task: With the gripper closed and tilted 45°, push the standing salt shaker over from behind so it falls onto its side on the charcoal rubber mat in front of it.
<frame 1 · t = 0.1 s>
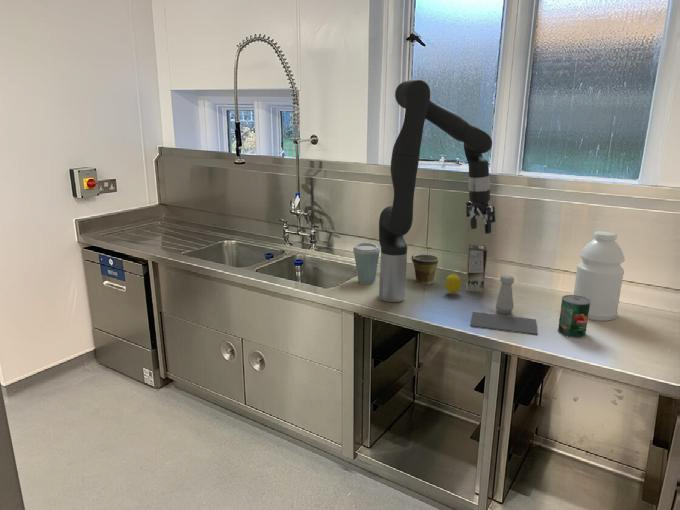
hand: (480, 230, 195), 22 cm above the worktop, tool pointing down, fingers open, 8 cm apart
canned tomato: (571, 333, 161), on the worktop
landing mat: (503, 323, 167), on the worktop
ceramic cup: (421, 281, 208), on the worktop
disposable coffee cup: (365, 282, 206), on the worktop
salt shaker: (503, 313, 176), on the worktop
lemon: (452, 294, 194), on the worktop
bottle: (593, 314, 176), on the worktop
coffee box: (474, 288, 201), on the worktop
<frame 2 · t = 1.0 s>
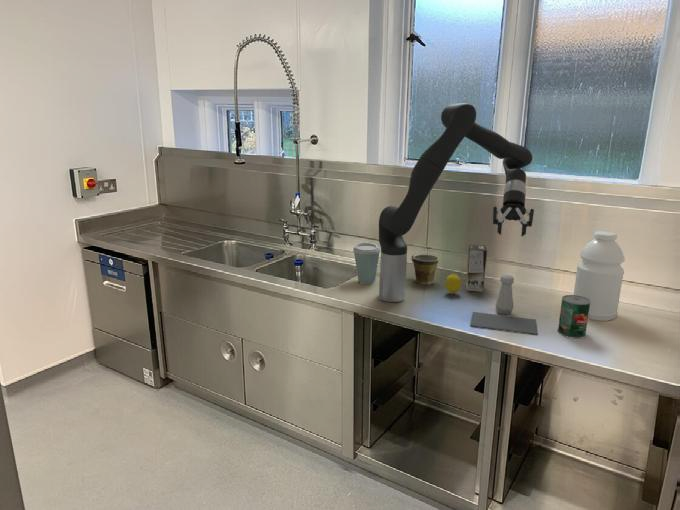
hand: (511, 234, 180), 25 cm above the worktop, tool tilted 45°, fingers open, 7 cm apart
nothing on the worktop moved.
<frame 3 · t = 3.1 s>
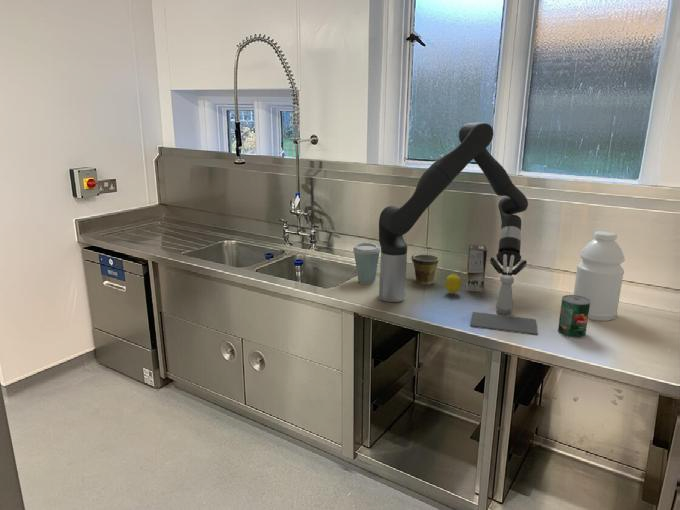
hand: (506, 283, 181), 8 cm above the worktop, tool tilted 45°, fingers closed
nothing on the worktop moved.
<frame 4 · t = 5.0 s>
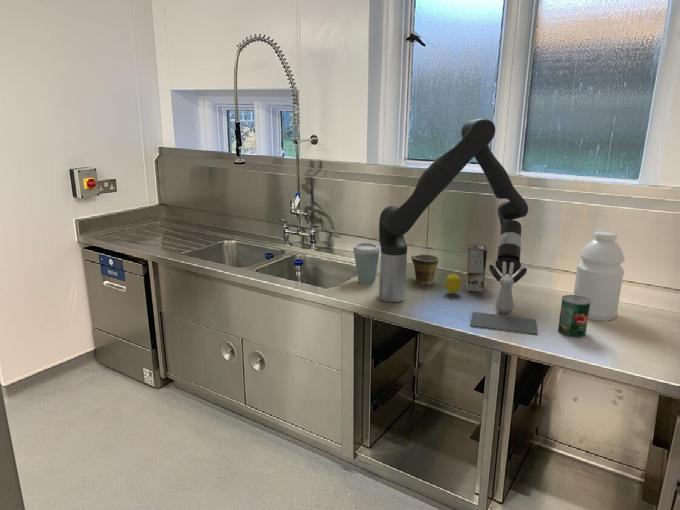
hand: (505, 292, 175), 7 cm above the worktop, tool tilted 45°, fingers closed
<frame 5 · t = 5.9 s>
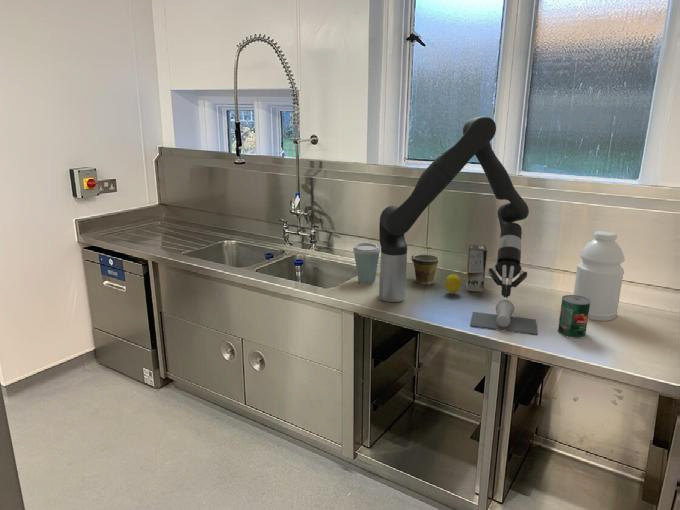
hand: (505, 296, 170), 7 cm above the worktop, tool tilted 45°, fingers closed
salt shaker: (505, 304, 173), point 4 cm above the worktop, touching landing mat
everything else where it was.
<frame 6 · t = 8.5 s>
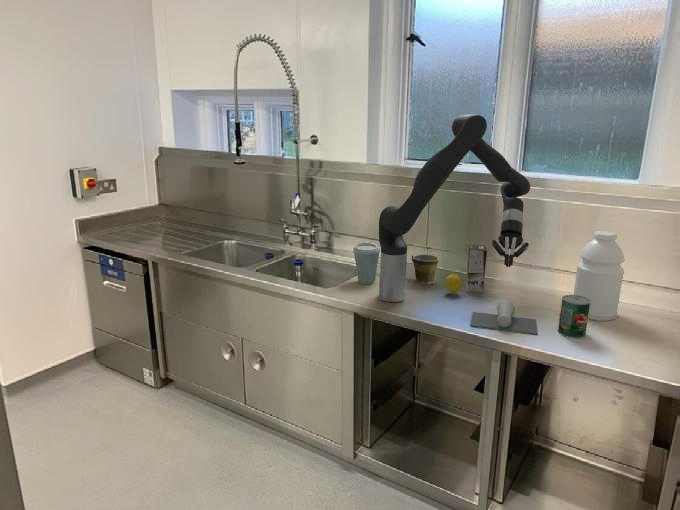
hand: (508, 265, 181), 14 cm above the worktop, tool tilted 45°, fingers closed
nothing on the worktop moved.
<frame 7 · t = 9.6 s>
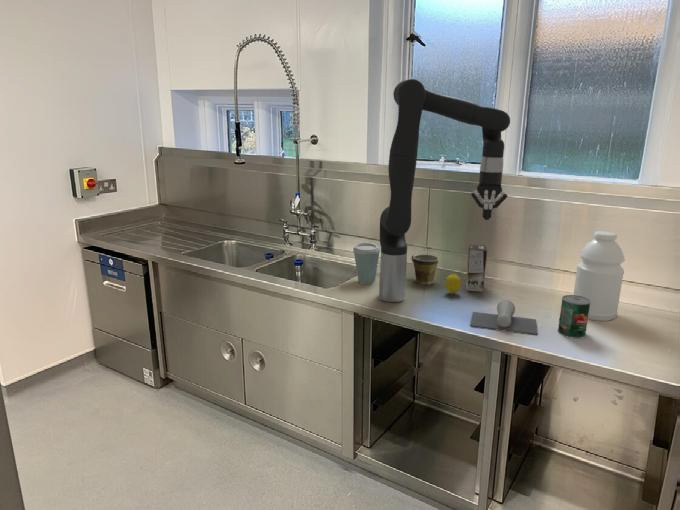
hand: (486, 219, 185), 29 cm above the worktop, tool pointing down, fingers closed
nothing on the worktop moved.
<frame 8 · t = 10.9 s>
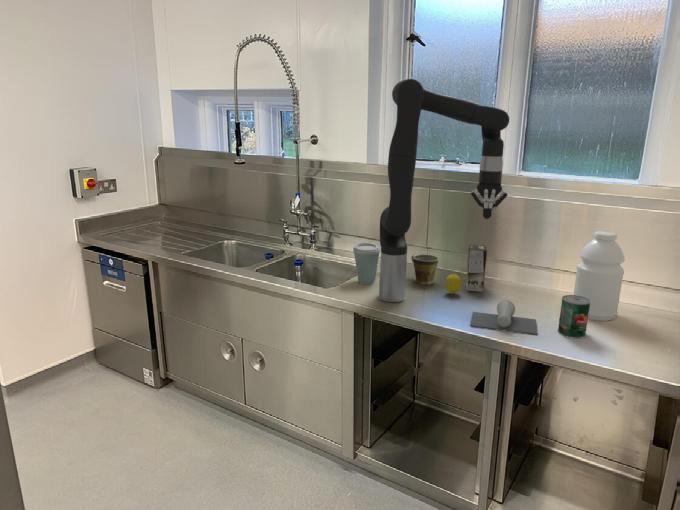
hand: (486, 218, 184), 29 cm above the worktop, tool pointing down, fingers closed
nothing on the worktop moved.
at the end: salt shaker tilted 94°; salt shaker touching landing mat; the gripper is holding nothing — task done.
